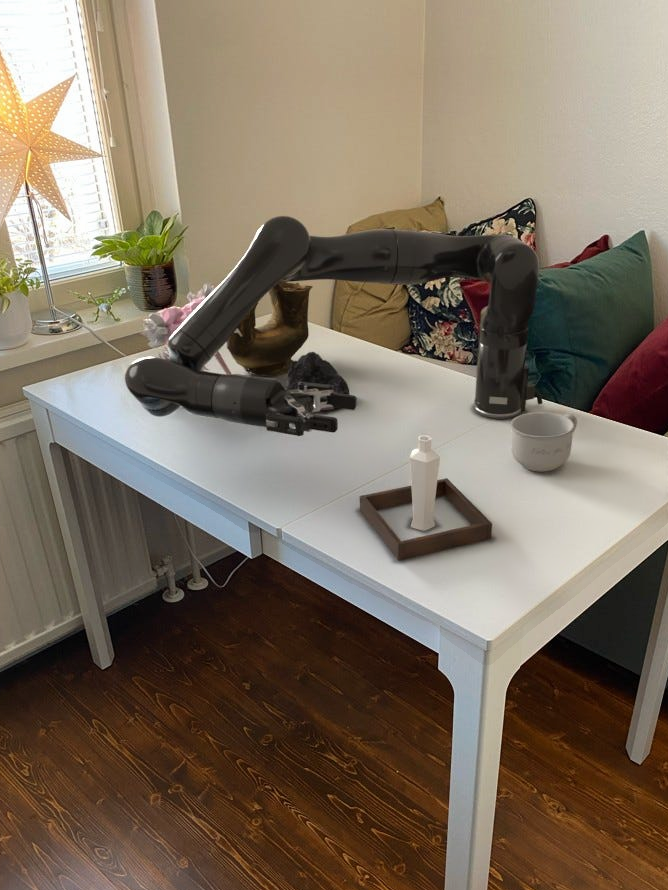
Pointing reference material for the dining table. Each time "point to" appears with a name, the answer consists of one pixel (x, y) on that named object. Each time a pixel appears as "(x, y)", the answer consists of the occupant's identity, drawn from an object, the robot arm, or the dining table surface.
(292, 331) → the pottery vessel
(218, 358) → the flower
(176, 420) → the dining table surface
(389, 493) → the walnut frame
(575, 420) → the teacup
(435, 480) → the perfume bottle
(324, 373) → the crystal cluster
